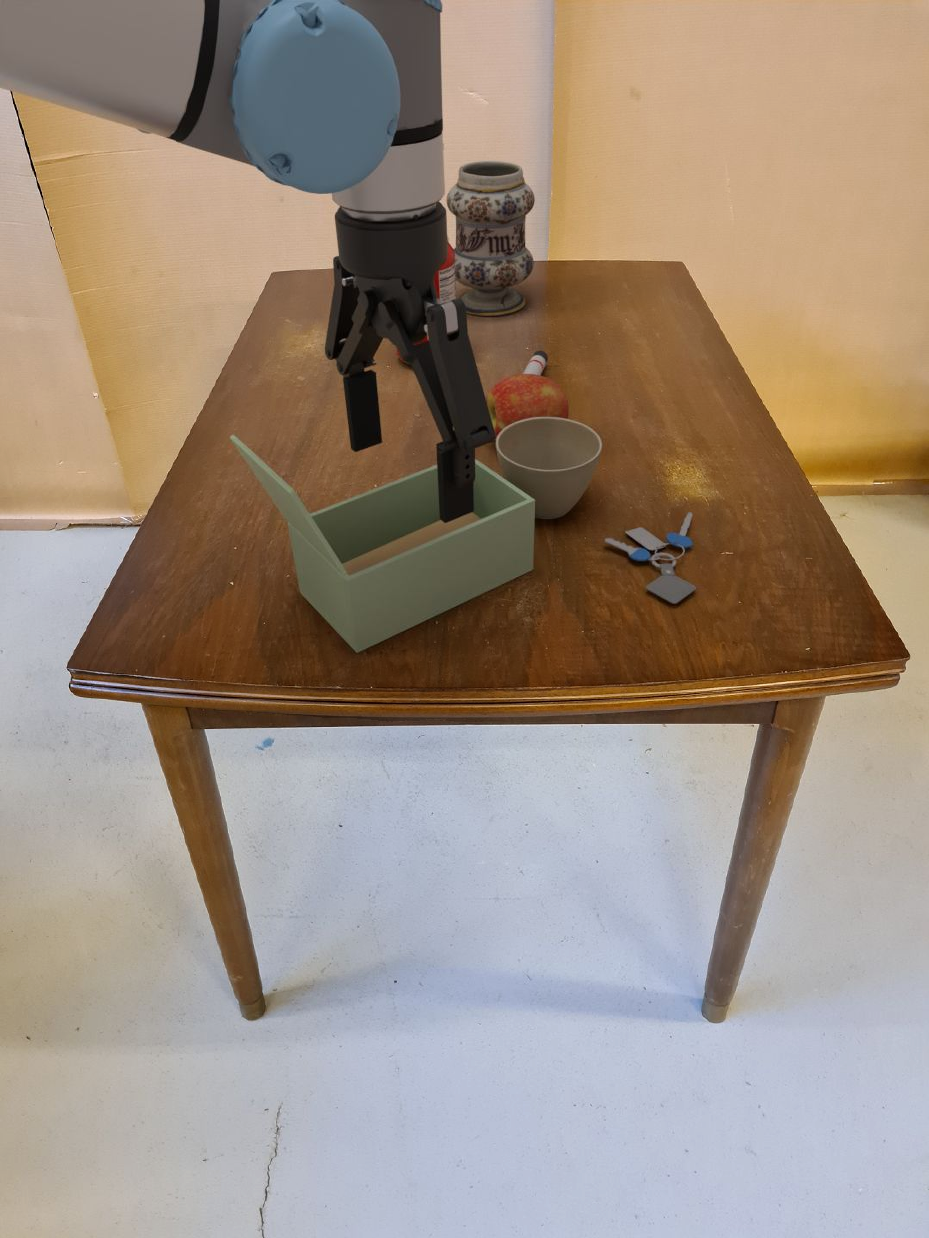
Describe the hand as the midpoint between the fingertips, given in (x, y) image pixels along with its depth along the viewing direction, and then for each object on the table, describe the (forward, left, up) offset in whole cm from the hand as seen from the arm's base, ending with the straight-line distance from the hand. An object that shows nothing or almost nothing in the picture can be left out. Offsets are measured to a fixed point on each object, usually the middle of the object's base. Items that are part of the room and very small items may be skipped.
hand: (409, 479), depth 74 cm
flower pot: (+15, +8, -11) cm, 20 cm away
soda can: (+12, +45, -11) cm, 48 cm away
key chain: (+21, -3, -11) cm, 24 cm away
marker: (+21, +32, -11) cm, 40 cm away
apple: (+17, +20, -11) cm, 28 cm away
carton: (0, 0, -11) cm, 11 cm away
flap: (-10, -4, +2) cm, 11 cm away
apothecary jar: (+25, +60, -11) cm, 66 cm away
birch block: (0, 0, -10) cm, 10 cm away
